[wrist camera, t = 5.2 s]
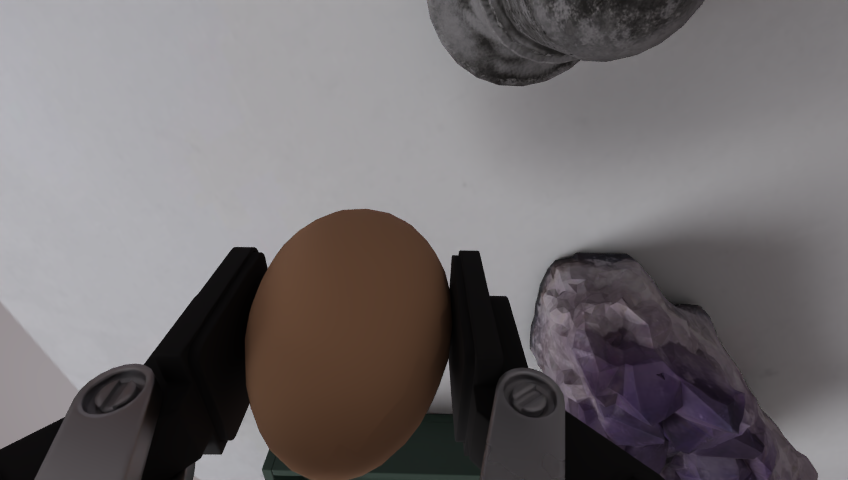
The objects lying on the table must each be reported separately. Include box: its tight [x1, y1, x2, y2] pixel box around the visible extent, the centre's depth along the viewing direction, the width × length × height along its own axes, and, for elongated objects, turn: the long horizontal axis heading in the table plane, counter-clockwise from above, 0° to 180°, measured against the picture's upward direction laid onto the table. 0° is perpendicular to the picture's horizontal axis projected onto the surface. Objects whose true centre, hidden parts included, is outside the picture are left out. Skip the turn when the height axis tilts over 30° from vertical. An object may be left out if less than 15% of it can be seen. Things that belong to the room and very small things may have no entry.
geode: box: [530, 253, 818, 480], centre depth 21 cm, size 20×12×10 cm, turn 38°
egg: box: [245, 209, 452, 480], centre depth 11 cm, size 5×5×8 cm
